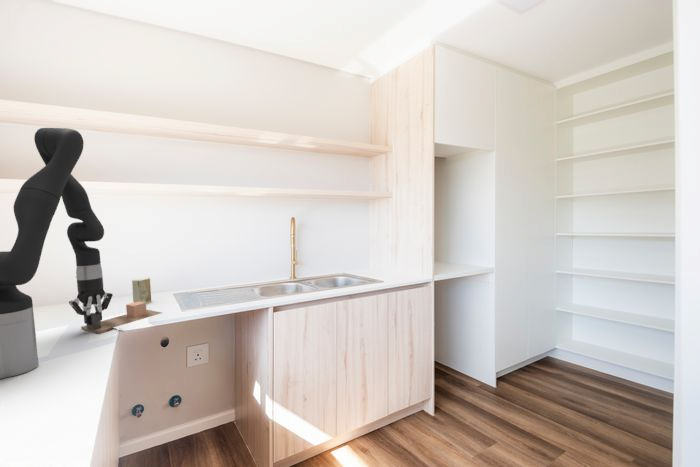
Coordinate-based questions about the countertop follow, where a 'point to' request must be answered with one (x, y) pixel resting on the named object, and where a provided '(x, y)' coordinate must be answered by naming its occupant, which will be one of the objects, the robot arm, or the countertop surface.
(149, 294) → the skincare box
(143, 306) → the terracotta block
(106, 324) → the walnut strip
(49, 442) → the countertop surface
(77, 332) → the countertop surface
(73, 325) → the countertop surface
